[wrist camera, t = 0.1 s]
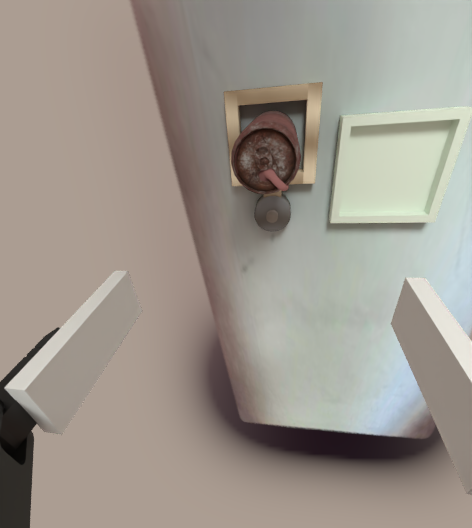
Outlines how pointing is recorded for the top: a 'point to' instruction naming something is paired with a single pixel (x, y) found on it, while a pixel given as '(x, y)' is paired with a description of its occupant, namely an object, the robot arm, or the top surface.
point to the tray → (395, 164)
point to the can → (267, 154)
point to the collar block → (275, 204)
